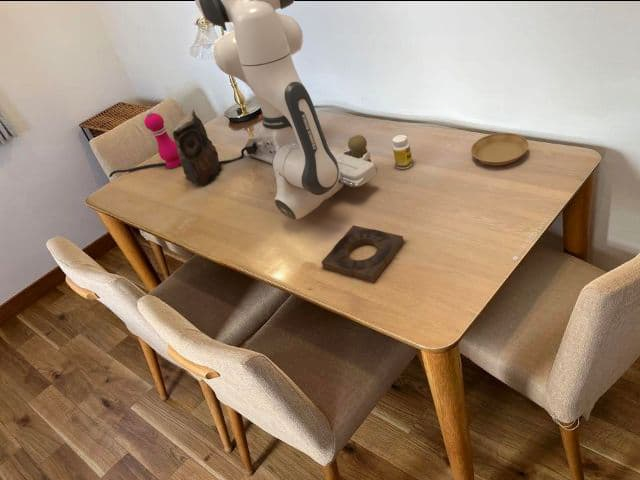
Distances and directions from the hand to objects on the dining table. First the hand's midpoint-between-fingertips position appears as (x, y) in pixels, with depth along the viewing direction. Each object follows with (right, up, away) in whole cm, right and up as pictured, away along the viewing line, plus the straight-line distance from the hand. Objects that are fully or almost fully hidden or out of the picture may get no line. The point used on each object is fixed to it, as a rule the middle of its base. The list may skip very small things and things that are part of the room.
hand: (361, 152), depth 140 cm
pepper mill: (-65, +4, +35) cm, 73 cm away
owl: (-51, -2, +24) cm, 56 cm away
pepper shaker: (+1, -5, +4) cm, 6 cm away
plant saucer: (+37, -2, -5) cm, 38 cm away
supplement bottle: (+12, -3, +2) cm, 13 cm away
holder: (0, -29, -23) cm, 38 cm away
